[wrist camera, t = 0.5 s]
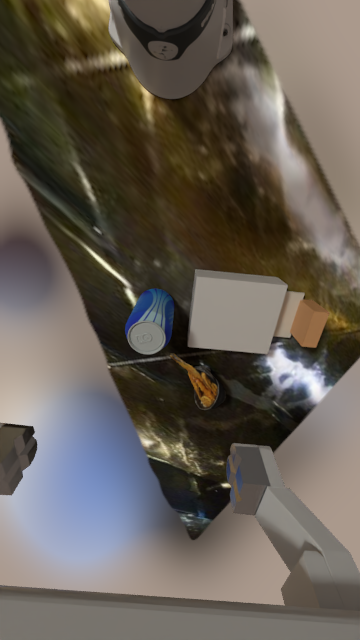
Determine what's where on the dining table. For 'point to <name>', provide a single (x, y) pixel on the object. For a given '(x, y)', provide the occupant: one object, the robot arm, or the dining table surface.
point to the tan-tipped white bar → (301, 319)
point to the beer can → (151, 322)
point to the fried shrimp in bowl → (204, 385)
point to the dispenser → (234, 311)
